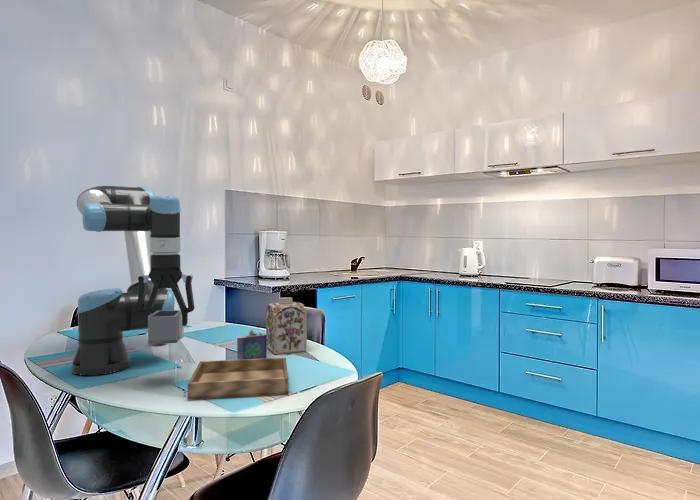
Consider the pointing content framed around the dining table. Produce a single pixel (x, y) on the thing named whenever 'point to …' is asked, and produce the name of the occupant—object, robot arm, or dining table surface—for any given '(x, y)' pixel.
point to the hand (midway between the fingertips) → (166, 337)
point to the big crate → (239, 378)
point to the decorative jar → (286, 326)
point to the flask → (252, 346)
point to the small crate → (163, 327)
